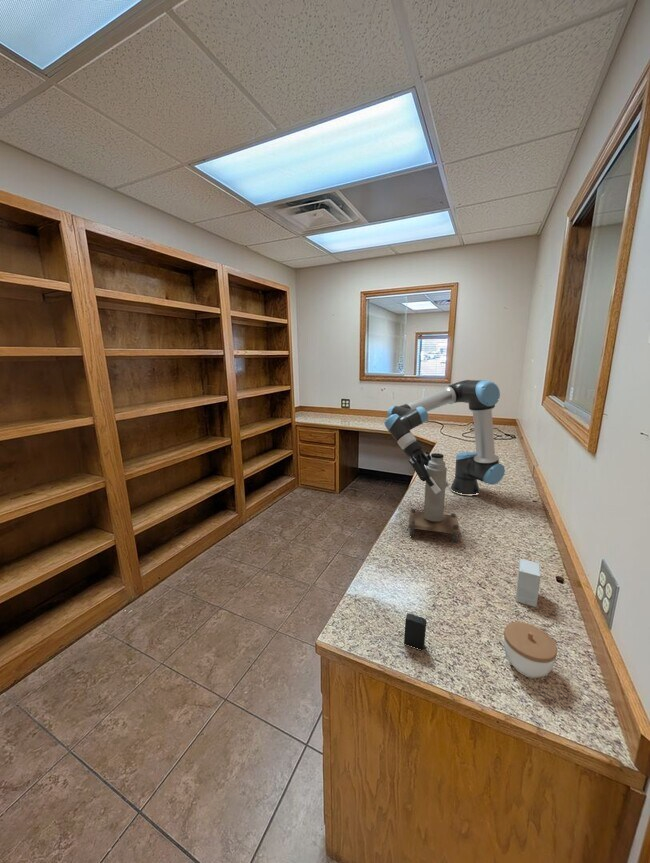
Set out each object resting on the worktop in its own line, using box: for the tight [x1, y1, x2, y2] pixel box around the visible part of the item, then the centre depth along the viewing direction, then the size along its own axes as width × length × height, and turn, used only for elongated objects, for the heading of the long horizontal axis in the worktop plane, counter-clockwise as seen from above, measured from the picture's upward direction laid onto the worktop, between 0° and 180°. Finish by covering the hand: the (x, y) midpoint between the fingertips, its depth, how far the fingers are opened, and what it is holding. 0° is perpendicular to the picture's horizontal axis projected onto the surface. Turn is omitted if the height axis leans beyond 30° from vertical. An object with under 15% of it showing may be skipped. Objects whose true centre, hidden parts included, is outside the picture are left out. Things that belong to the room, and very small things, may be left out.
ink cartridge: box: [403, 612, 427, 651], centre depth 84 cm, size 5×2×8 cm, turn 65°
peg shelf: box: [408, 508, 461, 544], centre depth 141 cm, size 20×14×7 cm
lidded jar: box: [503, 621, 558, 679], centre depth 78 cm, size 11×11×9 cm
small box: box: [515, 558, 542, 608], centre depth 101 cm, size 8×6×10 cm
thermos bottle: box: [423, 453, 448, 521], centre depth 137 cm, size 8×8×28 cm
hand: (443, 489), depth 135 cm, fingers closed on thermos bottle, 8 cm apart
